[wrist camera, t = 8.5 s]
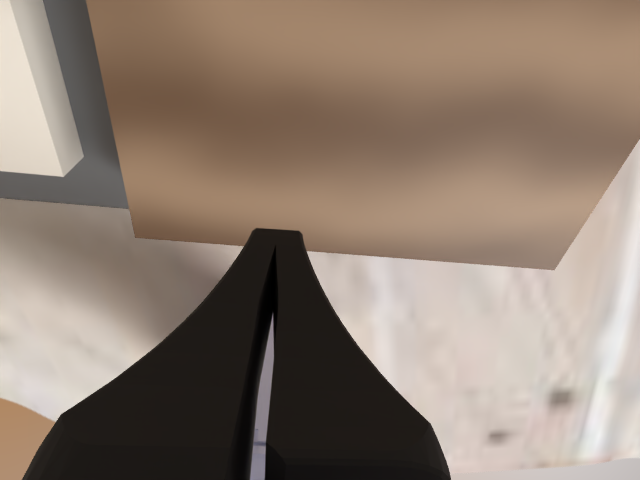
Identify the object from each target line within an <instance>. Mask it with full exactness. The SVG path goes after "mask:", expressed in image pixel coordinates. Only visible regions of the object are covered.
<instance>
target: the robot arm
mask: <svg viewBox="0 0 640 480" xmlns="http://www.w3.org/2000/svg"><path fill="white" fill-rule="evenodd" d="M22 480H451V477H450V472H449V468H448V465H447V462H446V459H445V457H444V454H443V451H442V449H441V446H440V444H439V441H438V439H437V437H436V435H435V432H434V430H433V428H432V426H431V424H430V423H429V422H428V421H427V420H426V419H425V418H424V417H423V416H422V415H421V414H420V413H419V412H418V411H417V410H416V409H415V408H413V407H412V406H411V405H410V404H409V403H408V402H407V401H406V400H405V399H404V398H403V397H402V396H401V395H400V394H399V393H398V391H397V390H396V389H395V388H394V387H393V386H392V385H391V384H390V383H389V382H388V381H387V380H386V379H385V377H384V376H383V375H382V374H381V373H380V372H379V371H378V369H377V368H376V367H375V366H374V364H373V363H372V362H371V361H370V360H369V358H368V357H367V356H366V355H365V354H364V352H363V351H362V350H361V349H360V347H359V346H358V345H357V343H356V342H355V341H354V339H353V338H352V336H351V335H350V334H349V332H348V331H347V329H346V328H345V326H344V325H343V323H342V322H341V320H340V319H339V317H338V316H337V314H336V312H335V311H334V309H333V307H332V306H331V304H330V302H329V300H328V298H327V297H326V295H325V293H324V291H323V289H322V287H321V285H320V283H319V281H318V278H317V276H316V274H315V272H314V270H313V267H312V265H311V262H310V260H309V257H308V254H307V251H306V248H305V244H304V240H303V234H302V233H301V232H300V231H297V230H281V229H265V228H255V229H254V230H253V231H252V232H251V235H250V237H249V239H248V240H247V242H246V244H245V246H244V247H243V249H242V251H241V252H240V254H239V255H238V257H237V258H236V260H235V261H234V263H233V264H232V265H231V267H230V268H229V270H228V271H227V272H226V274H225V275H224V276H223V278H222V279H221V280H220V281H219V283H218V284H217V285H216V286H215V288H214V289H213V290H212V291H211V292H210V294H209V295H208V296H207V297H206V298H205V300H204V301H203V302H202V303H201V304H200V305H199V306H198V307H197V308H196V309H195V310H194V311H193V312H192V313H191V314H190V316H189V317H188V318H187V319H186V320H185V321H184V322H183V323H181V324H180V325H179V326H178V327H177V328H176V329H175V330H174V331H173V332H172V333H171V334H170V335H168V336H167V337H166V338H165V339H164V340H163V341H162V342H161V343H159V344H158V345H157V346H156V347H155V348H154V349H152V350H151V351H150V352H149V353H147V354H146V355H145V356H144V357H142V358H141V359H140V360H138V361H137V362H136V363H135V364H133V365H132V366H131V367H129V368H128V369H127V370H126V371H124V372H123V373H122V374H120V375H119V376H118V377H116V378H115V379H113V380H112V381H111V382H109V383H108V384H106V385H105V386H103V387H102V388H100V389H99V390H97V391H96V392H94V393H93V394H91V395H90V396H88V397H87V398H85V399H84V400H82V401H81V402H79V403H78V404H76V405H75V406H73V407H72V408H70V409H69V410H67V411H66V412H64V413H63V414H61V415H60V417H59V418H58V420H57V421H56V423H55V424H54V426H53V427H52V429H51V431H50V432H49V434H48V435H47V436H46V438H45V439H44V441H43V442H42V444H41V446H40V447H39V449H38V451H37V452H36V454H35V456H34V458H33V460H32V462H31V464H30V466H29V468H28V470H27V471H26V473H25V475H24V477H23V479H22Z"/></svg>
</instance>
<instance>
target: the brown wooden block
mask: <svg viewBox="0 0 640 480" xmlns="http://www.w3.org/2000/svg"><path fill="white" fill-rule="evenodd" d="M86 3H87V8H88V12H89V17H90V22H91V27H92V32H93V37H94V41H95V46H96V51H97V56H98V61H99V65H100V70H101V75H102V80H103V85H104V90H105V94H106V99H107V104H108V109H109V114H110V118H111V123H112V128H113V133H114V138H115V143H116V147H117V152H118V157H119V162H120V167H121V171H122V176H123V181H124V186H125V191H126V196H127V200H128V205H129V210H130V215H131V220H132V224H133V229H134V234H135V238H146V239H159V240H172V241H185V242H198V243H211V244H224V245H237V246H245V244H246V242H247V240H248V239H249V237H250V235H251V232H252V231H253V230H254V229H255V228H265V229H281V230H297V231H300V232H301V233H302V234H303V240H304V244H305V248H306V251H314V252H327V253H340V254H353V255H366V256H379V257H392V258H404V259H417V260H430V261H443V262H456V263H469V264H482V265H495V266H508V267H521V268H534V269H547V270H555V268H556V267H557V265H558V264H559V262H560V261H561V259H562V258H563V256H564V254H565V253H566V251H567V250H568V248H569V247H570V245H571V244H572V242H573V241H574V239H575V238H576V236H577V234H578V233H579V231H580V230H581V228H582V227H583V225H584V224H585V222H586V221H587V219H588V218H589V216H590V214H591V213H592V211H593V210H594V208H595V207H596V205H597V204H598V202H599V201H600V199H601V198H602V196H603V194H604V193H605V191H606V190H607V188H608V187H609V185H610V184H611V182H612V181H613V179H614V177H615V176H616V174H617V173H618V171H619V170H620V168H621V167H622V165H623V164H624V162H625V161H626V159H627V157H628V156H629V154H630V153H631V151H632V150H633V148H634V147H635V145H636V144H637V142H638V141H639V139H640V0H86Z"/></svg>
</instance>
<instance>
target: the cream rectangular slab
mask: <svg viewBox="0 0 640 480" xmlns="http://www.w3.org/2000/svg"><path fill="white" fill-rule="evenodd" d="M83 157H84V155H83V151H82V147H81V144H80V140H79V136H78V132H77V128H76V125H75V121H74V117H73V113H72V110H71V106H70V102H69V98H68V94H67V91H66V87H65V83H64V79H63V75H62V72H61V68H60V64H59V60H58V56H57V53H56V49H55V45H54V41H53V37H52V34H51V30H50V26H49V22H48V18H47V15H46V11H45V7H44V3H43V0H0V171H5V172H16V173H27V174H38V175H49V176H60V177H64V176H65V175H66V174H67V173H68V172H69V171H70V170H71V169H72V168H73V167H74V166H75V165H76V164H77V163H78V162H79V161H80V160H81V159H82V158H83Z"/></svg>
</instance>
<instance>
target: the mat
mask: <svg viewBox="0 0 640 480" xmlns="http://www.w3.org/2000/svg"><path fill="white" fill-rule="evenodd" d="M43 3H44V7H45V11H46V15H47V18H48V22H49V26H50V30H51V34H52V37H53V41H54V45H55V49H56V53H57V56H58V60H59V64H60V68H61V72H62V75H63V79H64V83H65V87H66V91H67V94H68V98H69V102H70V106H71V110H72V113H73V117H74V121H75V125H76V128H77V132H78V136H79V140H80V144H81V147H82V151H83V155H84V157H83V158H82V159H81V160H80V161H79V162H78V163H77V164H76V165H75V166H74V167H73V168H72V169H71V170H70V171H69V172H68V173H67V174H66V175H65V176H64V177H60V176H49V175H38V174H27V173H16V172H5V171H0V198H7V199H18V200H30V201H42V202H54V203H66V204H78V205H90V206H102V207H114V208H126V209H129V205H128V200H127V196H126V191H125V186H124V181H123V176H122V171H121V167H120V162H119V157H118V152H117V147H116V143H115V138H114V133H113V128H112V123H111V118H110V114H109V109H108V104H107V99H106V94H105V90H104V85H103V80H102V75H101V70H100V65H99V61H98V56H97V51H96V46H95V41H94V37H93V32H92V27H91V22H90V17H89V12H88V8H87V3H86V0H43Z"/></svg>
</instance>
